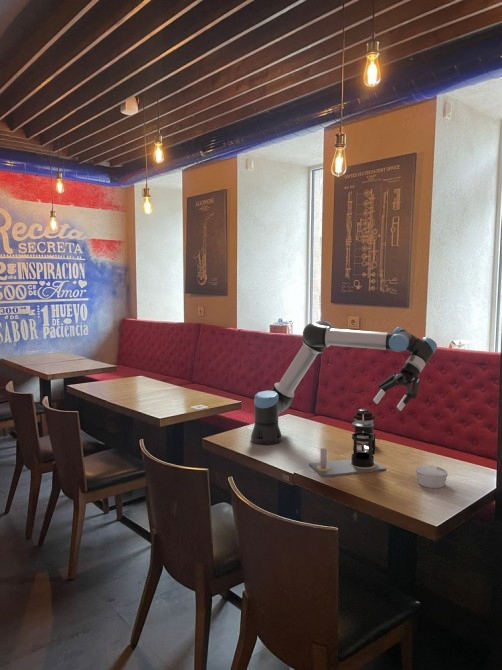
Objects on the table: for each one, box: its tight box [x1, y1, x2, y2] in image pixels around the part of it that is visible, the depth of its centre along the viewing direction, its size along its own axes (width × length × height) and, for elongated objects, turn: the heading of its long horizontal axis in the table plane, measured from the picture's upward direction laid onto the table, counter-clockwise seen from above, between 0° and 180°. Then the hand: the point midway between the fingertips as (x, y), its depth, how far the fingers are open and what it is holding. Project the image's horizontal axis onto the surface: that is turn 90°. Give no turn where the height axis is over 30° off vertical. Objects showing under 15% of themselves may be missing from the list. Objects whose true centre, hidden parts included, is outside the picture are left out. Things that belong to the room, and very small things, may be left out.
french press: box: [351, 408, 376, 467], centre depth 204 cm, size 12×9×23 cm
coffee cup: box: [353, 410, 376, 445], centre depth 236 cm, size 10×10×15 cm
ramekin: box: [415, 465, 448, 489], centre depth 185 cm, size 11×11×5 cm
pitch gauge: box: [308, 447, 387, 478], centre depth 202 cm, size 14×28×9 cm, turn 105°
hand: (386, 405), depth 209 cm, fingers open, 13 cm apart
